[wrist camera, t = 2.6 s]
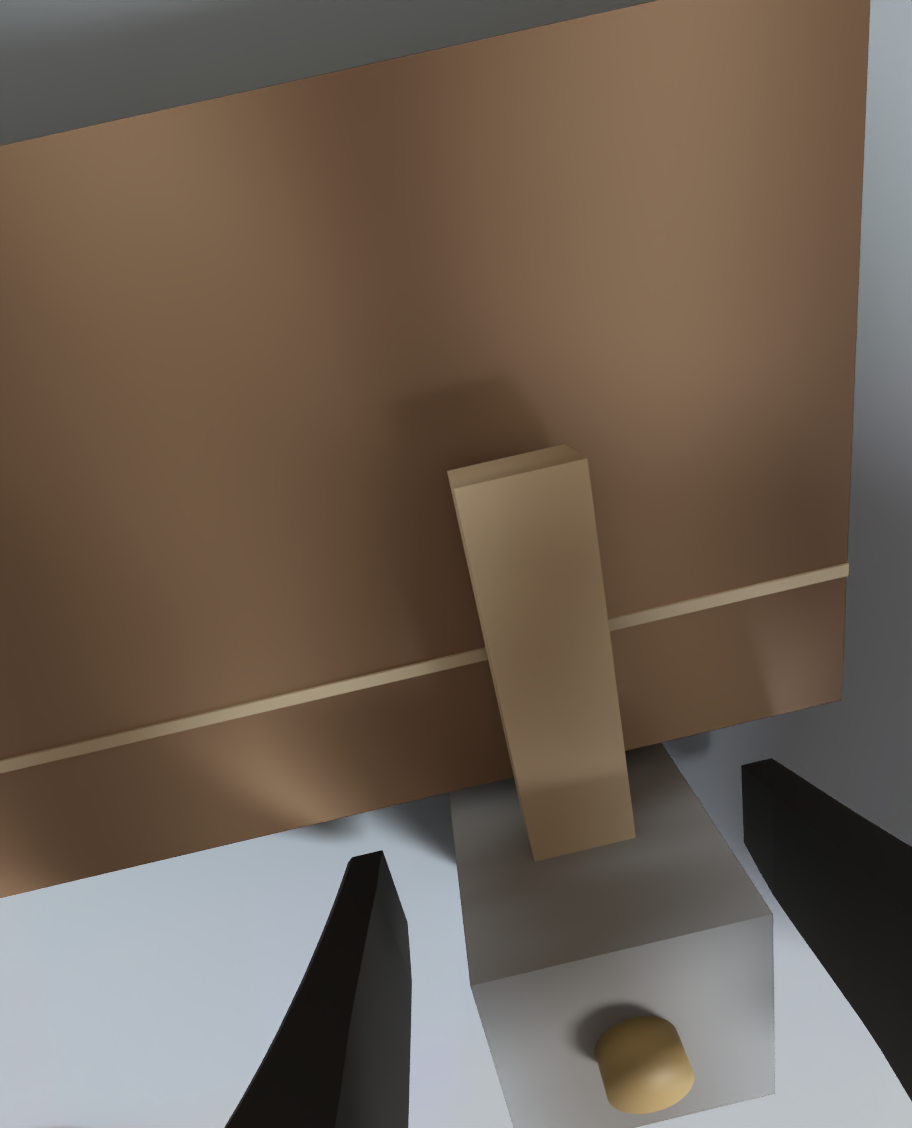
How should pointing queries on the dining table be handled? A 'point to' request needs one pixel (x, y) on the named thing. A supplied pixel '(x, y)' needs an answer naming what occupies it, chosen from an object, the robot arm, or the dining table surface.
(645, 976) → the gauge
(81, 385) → the board
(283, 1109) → the robot arm
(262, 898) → the dining table surface
